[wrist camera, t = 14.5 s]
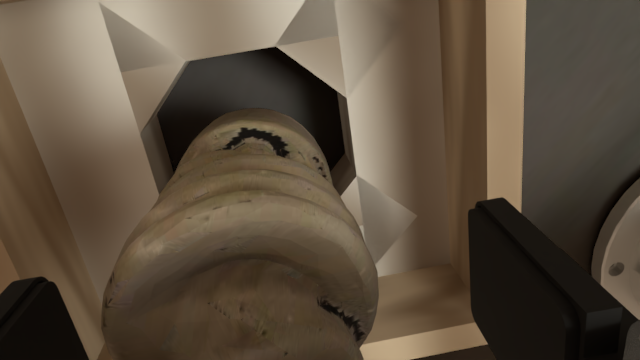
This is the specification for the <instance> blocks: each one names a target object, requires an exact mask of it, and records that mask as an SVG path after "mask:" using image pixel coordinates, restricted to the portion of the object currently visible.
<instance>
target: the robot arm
mask: <svg viewBox="0 0 640 360" xmlns="http://www.w3.org/2000/svg"><path fill="white" fill-rule="evenodd" d="M468 236H469V267H470V298H471V311H472V315H473V318H474V321H475V323H476V325H477V326H478V328H479V330H480V331H481V333H482V335H483V337H484V338H485V340H486V342H487V343H488V345H489V347H490V348H491V350H492V352H493V353H494V355H495V357H496V359H497V360H640V178H639V179H638V180H637V181H636V182H635V183H634V184H633V185H632V186H631V187H630V188H629V189H628V190H627V191H626V192H625V193H624V194H623V196H622V197H621V198H620V200H619V201H618V202H617V203H616V205H615V206H614V207H613V209H612V210H611V212H610V214H609V215H608V217H607V219H606V221H605V223H604V224H603V226H602V228H601V230H600V233H599V236H598V239H597V242H596V244H595V247H594V251H593V258H592V265H591V273H592V277H591V276H590V275H589V274H588V273H587V272H586V271H585V270H584V269H583V268H582V267H581V266H579V265H578V264H577V263H576V262H575V261H574V260H573V259H572V258H571V257H570V256H569V255H567V254H566V253H565V252H564V251H563V250H561V249H560V248H558V247H557V246H556V245H555V244H554V243H553V242H552V241H551V240H549V239H548V238H547V237H546V236H545V235H544V234H543V233H542V232H541V231H540V230H539V229H538V228H536V227H535V226H534V225H533V224H532V223H531V222H530V221H529V220H528V219H527V218H526V217H525V216H523V215H522V214H521V213H520V212H519V211H518V210H517V209H516V208H515V207H514V206H513V205H511V204H510V203H509V202H508V201H507V200H506V199H505V198H503V197H501V198H495V199H489V200H483V201H477V203H476V205H475V208H474V209H469V211H468ZM0 360H89V358H88V356H87V353H86V351H85V349H84V346H83V344H82V342H81V340H80V337H79V335H78V333H77V330H76V328H75V326H74V323H73V321H72V319H71V317H70V314H69V312H68V310H67V307H66V305H65V303H64V301H63V298H62V296H61V294H60V291H59V289H58V287H57V285H56V284H55V283H54V282H52V281H48V280H47V279H46V278H45V277H42V276H40V277H34V278H28V279H22V280H16V281H13V282H12V283H10V284H9V285H8V286H7V288H6V289H5V290H4V291H3V292H2V293H1V294H0Z"/></svg>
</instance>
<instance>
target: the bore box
mask: <svg viewBox="0 0 640 360" xmlns="http://www.w3.org/2000/svg"><path fill="white" fill-rule="evenodd" d="M525 28H526V0H0V294H1V293H2V292H3V291H4V290H5V289H6V288H7V286H8V285H9V284H10V283H12V282H13V281H16V280H22V279H28V278H34V277H40V276H42V277H45V278H46V279H47V280H48V281H52V282H54V283H55V284H56V285H57V287H58V289H59V291H60V294H61V296H62V298H63V301H64V303H65V305H66V307H67V310H68V312H69V314H70V317H71V319H72V321H73V323H74V326H75V328H76V330H77V333H78V335H79V337H80V340H81V342H82V344H83V346H84V349H85V351H86V353H87V356H88V358H89V360H113V359H112V357H111V356H110V354H109V352H108V349H107V345H106V342H105V339H104V336H103V333H102V329H101V312H102V302H103V294H104V291H105V288H106V285H107V282H108V280H109V278H110V275H111V273H112V271H113V268H114V266H115V264H116V261H117V259H118V257H119V254H120V252H121V250H122V248H123V246H124V244H125V242H126V240H127V238H128V237H129V236H130V234H131V233H132V231H133V230H134V229H135V227H136V226H137V224H138V223H139V222H140V220H141V219H142V218H143V217H144V216H145V215H146V214H147V213H148V212H149V211H150V210H151V208H152V207H153V206H154V204H155V203H156V202H157V200H158V197H159V195H160V193H161V191H162V190H163V189H164V187H165V186H166V185H167V183H168V182H169V181H170V179H171V178H172V177H173V175H174V172H173V168H172V165H171V161H170V158H169V155H168V151H167V148H166V144H165V141H164V138H163V134H162V131H161V127H160V124H159V121H158V117H157V113H158V111H159V110H160V108H161V107H162V105H163V103H164V102H165V100H166V99H167V97H168V95H169V94H170V92H171V91H172V89H173V87H174V86H175V84H176V83H177V81H178V80H179V78H180V76H181V75H182V73H183V72H184V70H185V68H186V67H187V65H188V64H189V62H190V61H191V60H197V59H203V58H209V57H215V56H221V55H227V54H233V53H239V52H245V51H251V50H257V49H263V48H269V47H275V46H276V47H277V48H279V49H280V50H281V51H283V52H284V53H285V54H287V55H288V56H290V57H291V58H292V59H294V60H295V61H296V62H298V63H299V64H301V65H302V66H303V67H305V68H306V69H307V70H309V71H310V72H312V73H313V74H314V75H316V76H317V77H318V78H320V79H321V80H322V81H324V82H325V83H327V84H328V85H329V86H331V87H332V88H333V89H335V90H336V91H337V96H338V103H339V111H340V118H341V125H342V133H343V140H344V148H345V153H344V155H343V156H342V157H341V159H340V160H339V161H338V163H337V164H336V165H335V166H334V168H333V169H332V170H331V172H330V175H331V178H332V184H333V187H334V188H335V189H336V190H337V192H338V194H339V195H340V197H341V199H342V200H343V202H344V204H345V206H346V208H347V209H348V210H349V211H350V212H351V214H352V215H353V216H354V218H355V220H356V222H357V224H358V225H359V227H360V229H361V232H362V235H363V238H364V241H365V244H366V247H367V248H368V250H369V252H370V254H371V256H372V259H373V261H374V264H375V266H376V269H377V272H378V288H379V299H378V306H377V312H376V316H375V320H374V323H373V327H372V330H371V331H370V333H369V335H368V336H367V338H366V340H365V341H364V343H363V344H362V346H361V347H360V351H361V353H362V356H363V359H364V360H411V359H416V358H421V357H426V356H431V355H436V354H441V353H446V352H451V351H456V350H461V349H466V348H471V347H476V346H481V345H486V344H488V343H487V342H486V340H485V338H484V337H483V335H482V333H481V331H480V330H479V328H478V326H477V325H476V323H475V321H474V318H473V315H472V311H471V298H470V267H469V236H468V211H469V209H474V208H475V205H476V203H477V201H483V200H489V199H495V198H501V197H503V198H505V199H506V200H507V201H508V202H509V203H510V204H511V205H513V206H514V207H515V208H516V209H517V210H518V211H519V212H520V213H521V196H522V154H523V112H524V70H525Z"/></svg>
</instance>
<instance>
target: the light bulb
mask: <svg viewBox="0 0 640 360" xmlns="http://www.w3.org/2000/svg"><path fill="white" fill-rule="evenodd" d="M378 299H379V288H378V272H377V269H376V266H375V264H374V261H373V259H372V256H371V254H370V252H369V250H368V248H367V247H366V244H365V241H364V238H363V235H362V232H361V229H360V227H359V225H358V224H357V222H356V220H355V218H354V216H353V215H352V214H351V212H350V211H349V210H348V209H347V208H346V206H345V204H344V202H343V200H342V199H341V197H340V195H339V194H338V192H337V190H336V189H335V188H334V187H333V184H332V178H331V175H330V170H329V167H328V164H327V161H326V158H325V156H324V154H323V152H322V151H321V149H320V147H319V145H318V144H317V142H316V140H315V139H314V137H313V136H312V135H311V134H310V133H309V132H308V131H307V130H306V129H305V128H304V127H303V126H302V125H301V124H300V123H298V122H297V121H296V120H294V119H293V118H291V117H290V116H287V115H284V114H282V113H279V112H276V111H274V110H270V109H262V108H249V109H241V110H237V111H233V112H229V113H226V114H224V115H222V116H221V117H219V118H217V119H215V120H214V121H213V122H212V123H210V124H209V125H208V126H207V127H206V128H205V129H204V130H203V131H202V132H201V133H200V134H199V135H198V136H197V137H196V138H195V139H194V140H193V141H192V143H191V144H190V146H189V147H188V149H187V151H186V152H185V154H184V155H183V157H182V158H181V160H180V162H179V164H178V167H177V169H176V171H175V174H174V175H173V177H172V178H171V179H170V181H169V182H168V183H167V185H166V186H165V187H164V189H163V190H162V191H161V193H160V195H159V197H158V200H157V202H156V203H155V204H154V206H153V207H152V208H151V210H150V211H149V212H148V213H147V214H146V215H145V216H144V217H143V218H142V219H141V220H140V222H139V223H138V224H137V226H136V227H135V229H134V230H133V231H132V233H131V234H130V236H129V237H128V238H127V240H126V242H125V244H124V246H123V248H122V250H121V252H120V254H119V257H118V259H117V261H116V264H115V266H114V268H113V271H112V273H111V275H110V278H109V280H108V282H107V285H106V288H105V291H104V294H103V302H102V312H101V329H102V333H103V336H104V339H105V342H106V345H107V349H108V352H109V354H110V356H111V357H112V359H113V360H364V359H363V356H362V353H361V351H360V347H361V346H362V344H363V343H364V341H365V340H366V338H367V336H368V335H369V333H370V331H371V330H372V327H373V323H374V320H375V316H376V312H377V306H378Z"/></svg>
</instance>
